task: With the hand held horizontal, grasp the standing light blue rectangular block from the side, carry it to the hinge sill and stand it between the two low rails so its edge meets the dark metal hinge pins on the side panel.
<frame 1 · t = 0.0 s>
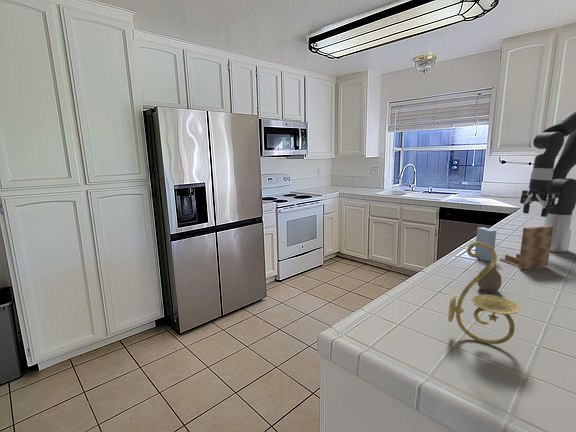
hand: (534, 215, 144), 17 cm above the countertop, tool pointing down, fingers open, 8 cm apart
wall sconce: (479, 342, 79), on the countertop
light blue rectangular block: (483, 258, 139), on the countertop
vase: (488, 291, 107), on the countertop
hinge sill: (519, 263, 132), on the countertop
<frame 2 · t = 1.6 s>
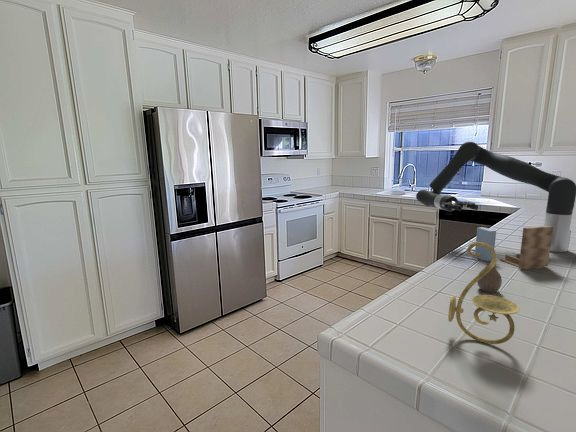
hand: (469, 208, 146), 20 cm above the countertop, tool horizontal, fingers open, 8 cm apart
nothing on the countertop moved.
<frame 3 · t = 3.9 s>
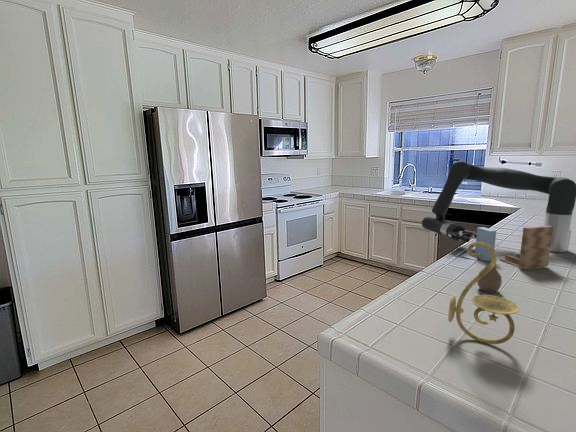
hand: (477, 239, 143), 7 cm above the countertop, tool horizontal, fingers open, 8 cm apart
nothing on the countertop moved.
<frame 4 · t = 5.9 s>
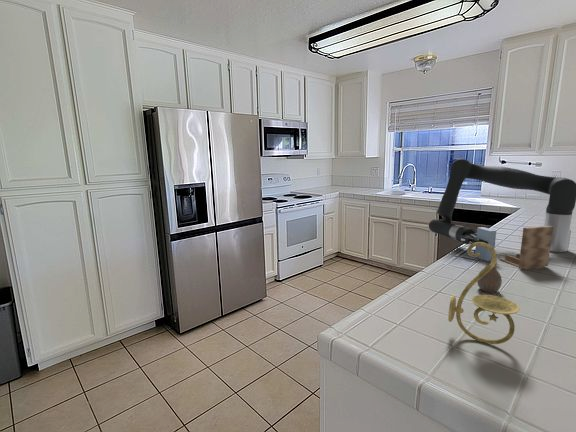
hand: (490, 243, 135), 7 cm above the countertop, tool horizontal, fingers closed on light blue rectangular block, 3 cm apart
light blue rectangular block: (483, 258, 139), on the countertop, touching gripper
everything else where it was.
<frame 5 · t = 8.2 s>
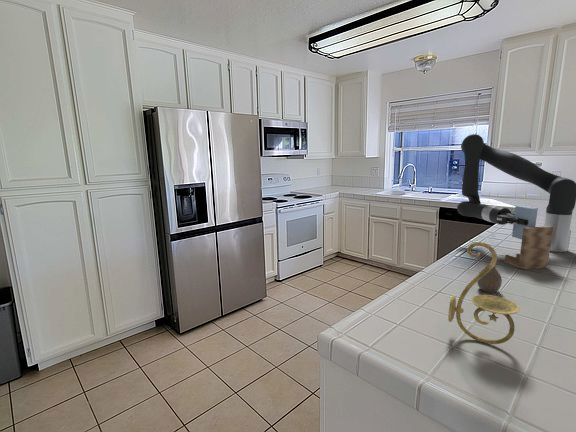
hand: (531, 222, 126), 18 cm above the countertop, tool horizontal, fingers closed on light blue rectangular block, 3 cm apart
light blue rectangular block: (522, 238, 130), point 11 cm above the countertop, touching gripper
everything else where it was.
when the fingers open (9 cm above the countertop, at t = 10.5 s): light blue rectangular block drops 1 cm, resting on hinge sill.
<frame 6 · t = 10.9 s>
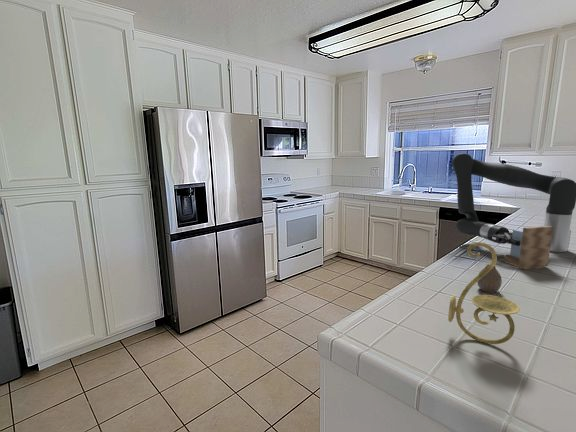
hand: (527, 242, 128), 9 cm above the countertop, tool horizontal, fingers open, 7 cm apart
light blue rectangular block: (519, 261, 132), point 1 cm above the countertop, touching hinge sill
everything else where it was.
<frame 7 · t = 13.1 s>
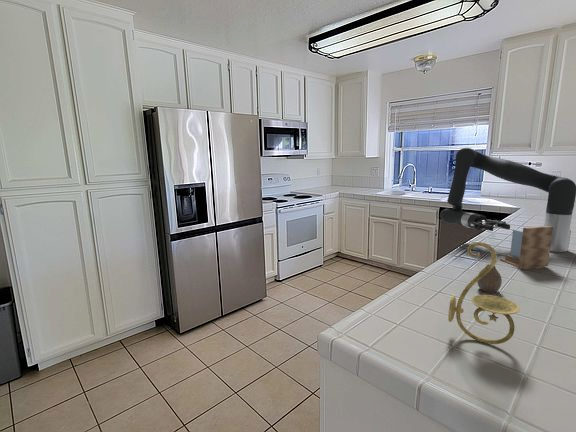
hand: (501, 227, 141), 12 cm above the countertop, tool horizontal, fingers open, 8 cm apart
nothing on the countertop moved.
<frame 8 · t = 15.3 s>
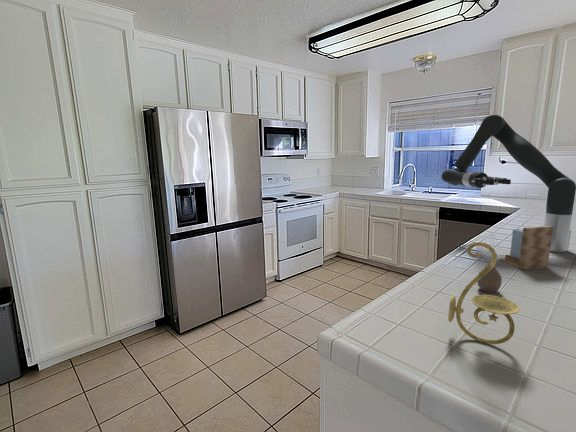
hand: (501, 182, 142), 32 cm above the countertop, tool horizontal, fingers open, 8 cm apart
nothing on the countertop moved.
at the end: light blue rectangular block 0.1 cm off-centre on the hinge sill, point 0.6 cm above the hinge sill's base; light blue rectangular block tilted 0°; the gripper is holding nothing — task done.
